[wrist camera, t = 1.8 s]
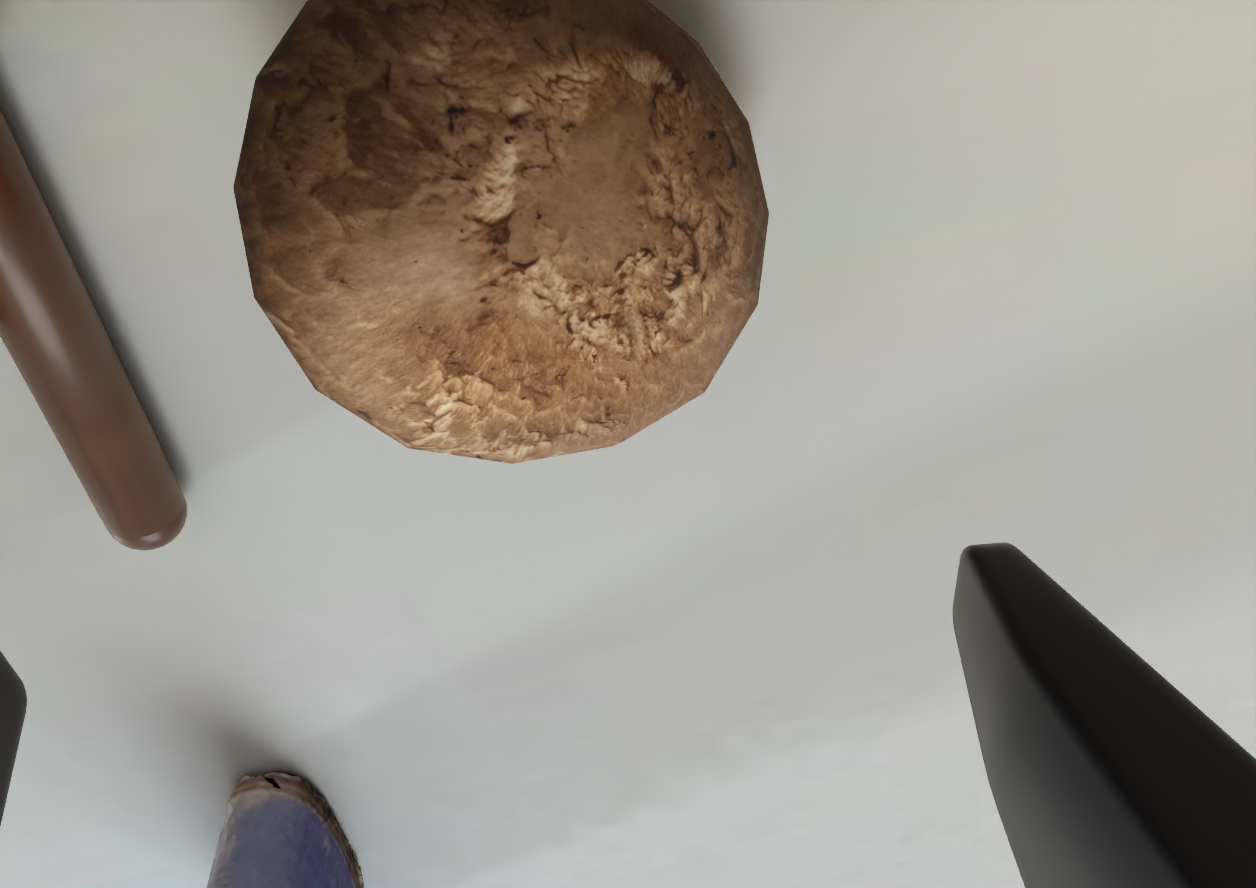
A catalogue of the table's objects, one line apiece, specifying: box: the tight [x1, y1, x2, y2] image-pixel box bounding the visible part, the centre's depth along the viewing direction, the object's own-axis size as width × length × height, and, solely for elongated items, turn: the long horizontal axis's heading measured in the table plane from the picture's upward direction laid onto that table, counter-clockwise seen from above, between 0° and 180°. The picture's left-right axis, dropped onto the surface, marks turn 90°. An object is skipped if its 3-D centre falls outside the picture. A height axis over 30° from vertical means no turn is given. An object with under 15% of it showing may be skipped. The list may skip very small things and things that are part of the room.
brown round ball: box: [234, 0, 769, 463], centre depth 17 cm, size 8×8×6 cm
